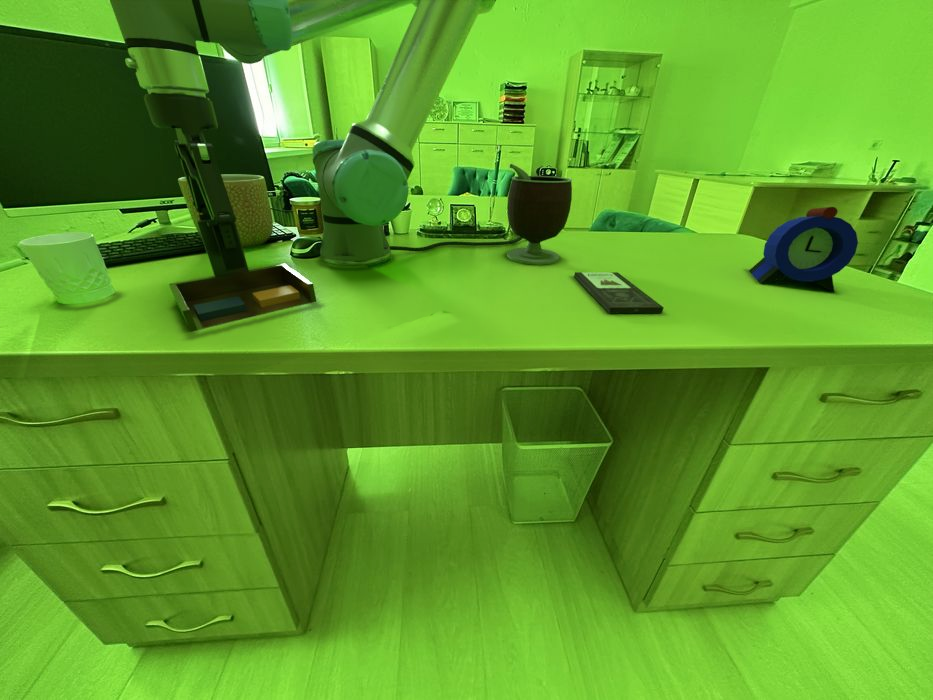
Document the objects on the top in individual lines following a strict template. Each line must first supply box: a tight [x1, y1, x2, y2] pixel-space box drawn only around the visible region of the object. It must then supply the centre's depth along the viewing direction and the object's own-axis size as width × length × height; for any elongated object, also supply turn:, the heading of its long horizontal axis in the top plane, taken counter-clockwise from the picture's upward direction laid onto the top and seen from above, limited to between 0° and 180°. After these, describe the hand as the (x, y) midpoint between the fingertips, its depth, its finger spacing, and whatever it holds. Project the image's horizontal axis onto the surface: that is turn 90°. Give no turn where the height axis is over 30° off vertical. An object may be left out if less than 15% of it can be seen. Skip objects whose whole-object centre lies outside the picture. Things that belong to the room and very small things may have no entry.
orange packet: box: [252, 285, 300, 308], centre depth 59 cm, size 6×4×1 cm, turn 131°
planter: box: [177, 173, 274, 250], centre depth 88 cm, size 17×17×15 cm
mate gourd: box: [506, 163, 573, 266], centre depth 83 cm, size 16×14×20 cm
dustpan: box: [168, 220, 317, 333], centre depth 56 cm, size 17×13×12 cm
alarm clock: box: [748, 206, 859, 293], centre depth 73 cm, size 12×12×15 cm
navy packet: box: [193, 296, 247, 321], centre depth 55 cm, size 6×4×1 cm, turn 131°
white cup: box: [18, 231, 116, 305], centre depth 57 cm, size 8×8×10 cm
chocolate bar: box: [573, 271, 664, 314], centre depth 68 cm, size 9×1×18 cm
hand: (228, 260), depth 60 cm, fingers open, 9 cm apart
